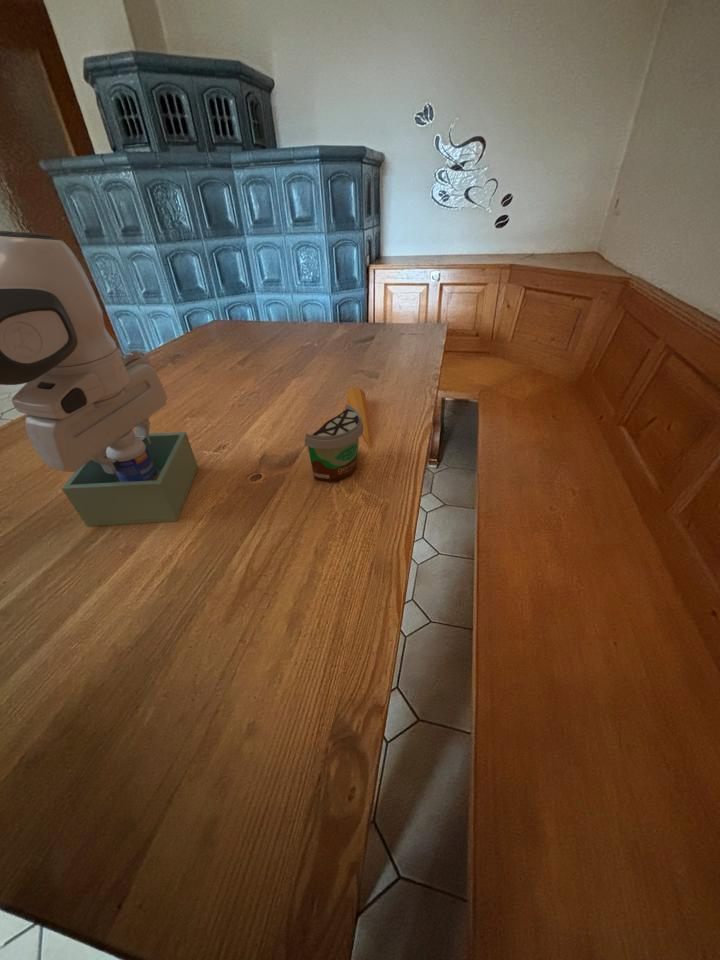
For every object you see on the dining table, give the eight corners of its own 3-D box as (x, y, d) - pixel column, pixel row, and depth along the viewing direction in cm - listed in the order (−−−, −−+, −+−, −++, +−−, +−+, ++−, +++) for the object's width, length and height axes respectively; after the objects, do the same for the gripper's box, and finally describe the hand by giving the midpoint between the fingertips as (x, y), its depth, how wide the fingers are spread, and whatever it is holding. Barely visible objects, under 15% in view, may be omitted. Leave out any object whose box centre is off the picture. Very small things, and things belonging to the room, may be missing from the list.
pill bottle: (155, 492, 61) (132, 441, 55) (119, 495, 60) (91, 445, 54) (163, 471, 65) (142, 422, 59) (129, 474, 65) (104, 425, 58)
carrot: (349, 403, 90) (341, 388, 87) (367, 396, 89) (360, 380, 86) (364, 461, 76) (355, 445, 73) (385, 452, 75) (377, 436, 72)
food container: (337, 496, 64) (335, 447, 58) (308, 483, 67) (303, 434, 60) (375, 459, 72) (377, 412, 66) (348, 448, 75) (347, 402, 68)
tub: (177, 521, 60) (160, 483, 55) (86, 526, 59) (61, 488, 54) (198, 467, 70) (185, 431, 65) (122, 471, 69) (103, 435, 64)
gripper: (125, 344, 59) (156, 421, 68) (-3, 407, 44) (58, 496, 53) (160, 348, 58) (187, 426, 67) (40, 414, 43) (95, 504, 51)
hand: (129, 458), depth 60 cm, fingers closed on pill bottle, 5 cm apart
